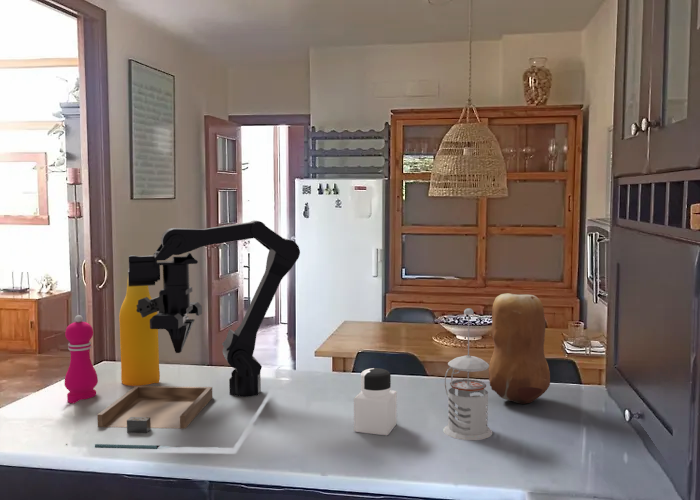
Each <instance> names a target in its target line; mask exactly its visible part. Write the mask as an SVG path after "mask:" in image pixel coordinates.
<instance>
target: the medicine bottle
mask: <svg viewBox="0 0 700 500" xmlns="http://www.w3.org/2000/svg"><path fill="white" fill-rule="evenodd" d="M391 376H392V375H391V372H390V371H389V370H387V369H385V368H379V367H378V368H374V367H373V368H367V369H365V370H362V372H360V392H359V393H358V394H357V395H356V396H355V397H354V398H353V431H354V432H356V433H363V434H371V435H378V436H388V435H390V433H391V431H392V430H393V429H394V428H395V427H396V425H397V424H398V418H397V417H398V415H397V414H398V413H397V412H398V410H397V409H398V404H397V403H398V392H397V391H396V390H391V389H392V388H391V387H392V386H391V384H392V383H391V381H392V379H391Z"/></svg>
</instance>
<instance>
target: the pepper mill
mask: <svg viewBox="0 0 700 500" xmlns="http://www.w3.org/2000/svg"><path fill="white" fill-rule="evenodd" d="M83 320H84V319H83V316H82V315H80V314H77V315H76V316H75V317H74V321H73V322H72V323H70V324H68V326H66V328H65V335H64V337H65V339H66V340H67V341H68V344H67V346H68V349H67V350H69V352H70V362H69V366H68V368H67V371H66V373H65V378H64V387H65V388H66V390H68V391H69V392H68V393H67V396H66V398H67V403H70V404H73V405H74V404H76V403H77V402H79V401H80V400H81V401H82V400H88V399H91V398H93V397H95V396H96V395H97V391H96V389H95V388H96V386H97V385H98V383H99V380H98V379H99V378H98V374H97V371H96V369H95V367H94V365H93V363H92V361H91V360H92V359H91V355H90V351H91V350H90V349H92V342H91V339H92V338H93V336H94V329H93V328H94V327H92V325H91V324H90V323H88V322H86V321H83Z"/></svg>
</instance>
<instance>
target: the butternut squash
mask: <svg viewBox="0 0 700 500" xmlns="http://www.w3.org/2000/svg"><path fill="white" fill-rule="evenodd" d="M544 309H545V308H544V306H543V303H542V301H541V299H540V298H538V297H537V296H536V295H533V294H514V293H508V292H506V293H501V294H499V295H497V296H496V297H495V299H494V301H493V303H492V309H491V331H490V332H491V337H492V340H493V345H494V348H493V352H492V355H491V358H490V361H489V363H488V364H489V367H488V381H489V386H490V388H491V390H492V391H493V392H494V393H496V394H497V395H498V397H499V398H502V399H504V400H507V401H510V402H514V403H515V404H520V405H525V404H526V405H527V404H529V403H533V402H534V401H536V400H537V399H539V398H540V397H541V396H542V395H544V394H545V393H546V392H547V390H548V389H549V388H550V385H551V372H550V367H549V363H548V360H547V359H546V356H545V351H544V350H545V349H544V345H545V337H546V317H545V313H544V312H545V310H544Z"/></svg>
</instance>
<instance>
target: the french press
mask: <svg viewBox="0 0 700 500" xmlns="http://www.w3.org/2000/svg"><path fill="white" fill-rule="evenodd" d="M463 315H467V316H468V317H467V354H466V355H462V356H457V357H455V358H453V359H451V360H450V361H449V362H447V365H448V367H449V368H447V370H446V372H445V375H444V387H445V393H446V395H447V396H446V397H447V398H448V400H447V401H448V402H447V403H448V407H447V408H448V409H447V411H448V415H447V417H448V418H447V423H448V424H447V425H446V426H444V427H443V433H444V434H445V435H446V436H447V437H450V438H454V439H458V440H463V441H480V440H485V439H487V438H490V437H492V435H493V431H492V429H491V428H490V427H489V426H488V411H489V410H488V409H489V407H488V404H489V392H488V390H486V387H487V383H485V382H484V381H482V380H477V379H470V375H469V374H470V372H472V373H473V372H482V371H486V370H488V369H489V364H490V363H488V362H487V361H486V360H484V359H482V358H480V357H478V356H473V355H470V316H471V315H474V309H472V308H464V311H463ZM451 369H452V372H451V376H450V377H451V379H450V382H449V385H450V388H449V389H448V388H447V379H446V378H447V375H448V372H449V371H450V370H451ZM455 370H457V372H455ZM461 371H462V372H467V378H459V379H454V380H453V376H454V375H456V374H460V373H461ZM456 390H457V395H456ZM473 393H480V394H481V395H471V394H473ZM456 405H457V407H456Z"/></svg>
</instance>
